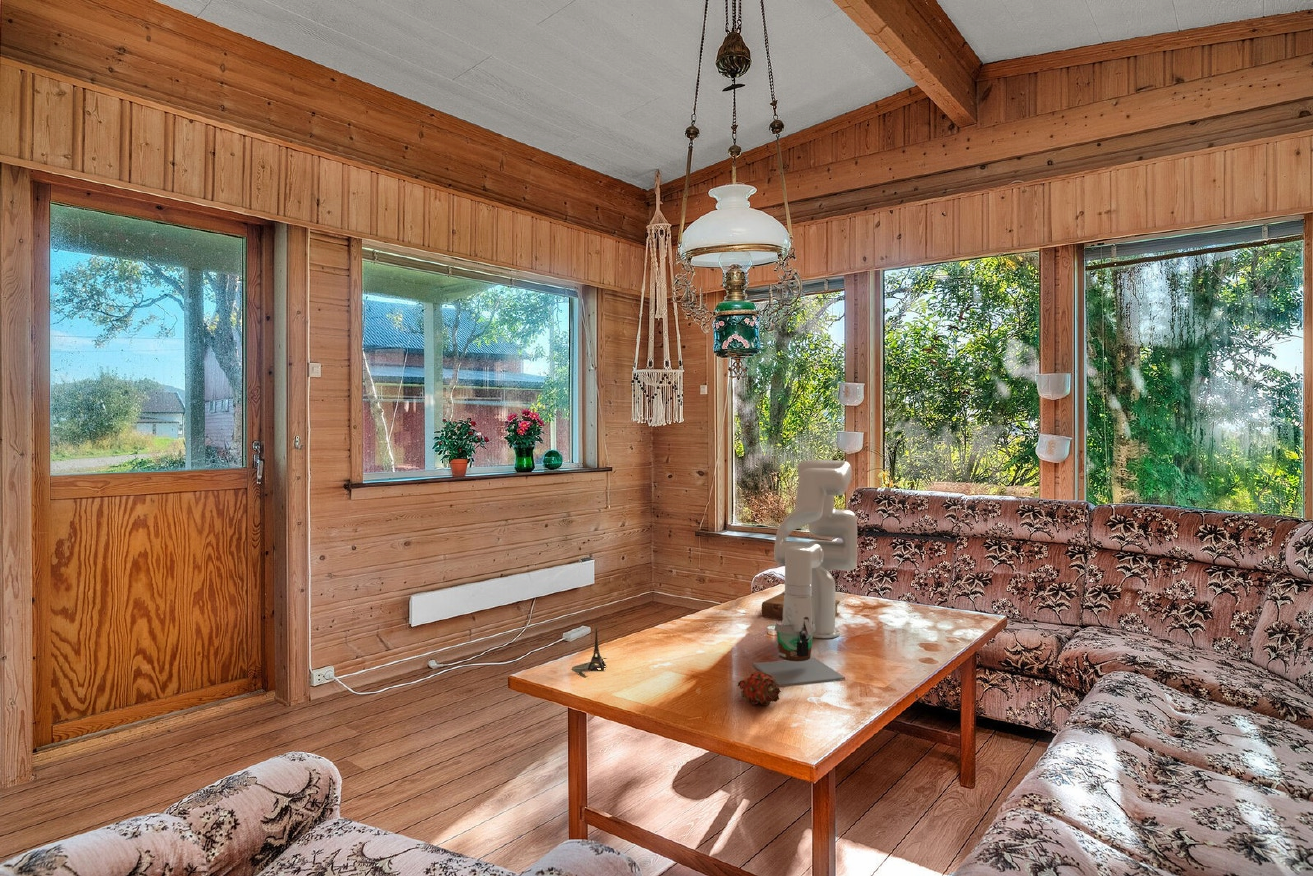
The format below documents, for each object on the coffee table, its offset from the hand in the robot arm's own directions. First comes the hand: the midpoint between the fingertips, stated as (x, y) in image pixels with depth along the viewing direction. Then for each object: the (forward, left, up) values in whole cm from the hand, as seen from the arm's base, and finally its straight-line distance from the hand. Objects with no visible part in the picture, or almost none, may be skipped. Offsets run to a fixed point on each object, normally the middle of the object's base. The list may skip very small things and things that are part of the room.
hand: (797, 652), depth 211 cm
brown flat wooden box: (-56, +29, -7) cm, 64 cm away
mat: (0, 0, -6) cm, 6 cm away
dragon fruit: (+18, -20, -6) cm, 28 cm away
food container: (+1, 0, -2) cm, 2 cm away
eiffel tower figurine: (-20, -55, -7) cm, 59 cm away
